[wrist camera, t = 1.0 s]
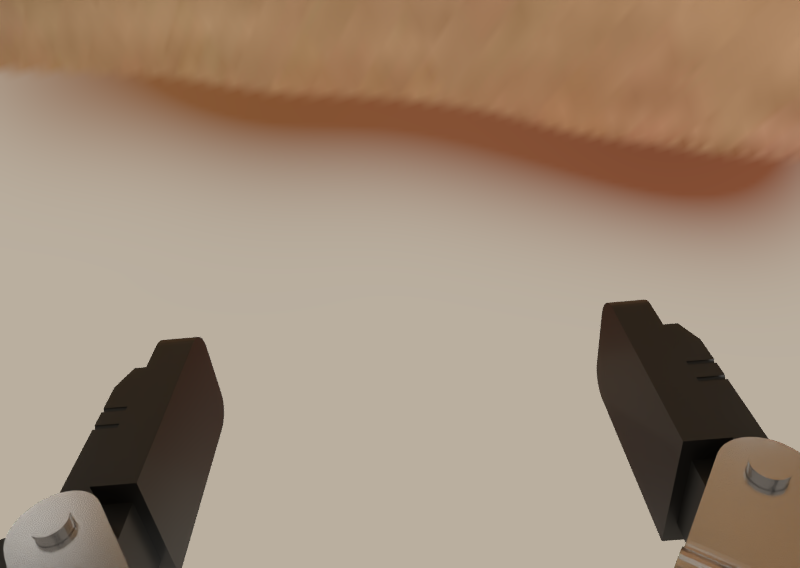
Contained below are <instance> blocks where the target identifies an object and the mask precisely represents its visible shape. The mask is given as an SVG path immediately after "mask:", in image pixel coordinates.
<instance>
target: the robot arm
mask: <svg viewBox="0 0 800 568" xmlns="http://www.w3.org/2000/svg"><path fill="white" fill-rule="evenodd" d="M597 379H598V385H599V390H600V393H601V397H602V399H603V402H604V404H605V406H606V409H607V411H608V414H609V416H610V418H611V421H612V423H613V426H614V428H615V430H616V433H617V435H618V437H619V440H620V442H621V444H622V447H623V449H624V452H625V454H626V457H627V459H628V461H629V464H630V466H631V469H632V471H633V473H634V476H635V478H636V481H637V483H638V485H639V488H640V490H641V492H642V495H643V497H644V500H645V502H646V504H647V507H648V509H649V512H650V514H651V516H652V519H653V521H654V523H655V526H656V528H657V531H658V533H659V535H660V538H661V540H662V541H667V540H680V539H684V540H685V542H686V544H685V547H682V549H681V551H680V553H679V556H678V559H677V561H676V564H675V567H674V568H800V453H799V452H798V451H796V450H795V449H793V448H791V447H789V446H787V445H785V444H782V443H780V442H777V441H774V440H770V439H768V438H767V436H766V435H765V433H764V432H763V430H762V429H761V427H760V426H759V425H758V423H757V422H756V420H755V419H754V417H753V416H752V414H751V413H750V411H749V410H748V408H747V407H746V405H745V404H744V403H743V401H742V400H741V398H740V397H739V395H738V394H737V392H736V391H735V389H734V388H733V386H732V385H731V384H730V382H729V381H728V379H725V375H724V373H723V372H722V370H721V369H720V367H719V366H718V365H717V363H714V359H713V357H712V356H711V355H710V353H709V351H708V350H707V348H706V347H705V346H704V344H703V342H702V341H701V340H700V339H699V338H698V337H696V336H695V335H693V334H692V333H691V332H689V331H688V330H686V329H685V328H683V327H682V326H681V325H679V324H665V325H663V324H662V322H661V320H660V319H659V317H658V316H657V314H656V312H655V311H654V309H653V308H652V306H651V304H650V303H649V302H648V301H647V300H636V301H625V302H612V303H606V304H605V305H604V307H603V311H602V320H601V329H600V339H599V349H598V360H597ZM223 419H224V405H223V398H222V395H221V391H220V388H219V385H218V382H217V379H216V376H215V372H214V370H213V366H212V363H211V360H210V357H209V354H208V351H207V348H206V345H205V343H204V341H203V339H202V338H200V337H193V338H182V339H171V340H161V341H160V342H159V343H158V344H157V346H156V348H155V350H154V352H153V354H152V356H151V358H150V361H149V363H148V365H147V367H145V368H135V369H134V370H133V371H131V372H130V374H128V375H127V376H126V377H125V378H124V379H123V380H122V381H121V382H120V383H119V384H118V385H117V386H116V387H115V388H114V390H113V392H112V393H111V395H110V398H109V399H108V401H107V403H106V405H105V407H104V412H103V413H101V415H100V417H99V419H98V420H97V422H96V424H95V430H92V432H91V434H90V436H89V438H88V440H87V442H86V443H85V445H84V447H83V449H82V451H81V453H80V455H79V457H78V459H77V461H76V463H75V465H74V467H73V468H72V470H71V472H70V474H69V476H68V478H67V480H66V482H65V484H64V486H63V488H62V490H61V492H60V493H58V494H55V495H53V496H50V497H48V498H46V499H44V500H42V501H40V502H38V503H37V504H35V505H34V506H32V507H31V508H30V509H28V510H27V511H26V512H25V513H24V514H23V515H21V516H20V517H19V519H18V520H17V521H16V522H15V523H14V525H13V526H12V527H11V528H10V530H9V532H8V534H7V536H6V538H4V539H1V540H0V568H182V565H183V562H184V558H185V555H186V551H187V548H188V544H189V541H190V537H191V534H192V530H193V527H194V523H195V520H196V517H197V513H198V510H199V506H200V503H201V499H202V496H203V492H204V489H205V485H206V482H207V478H208V475H209V471H210V468H211V465H212V461H213V458H214V454H215V451H216V447H217V444H218V440H219V437H220V433H221V430H222V426H223Z"/></svg>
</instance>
